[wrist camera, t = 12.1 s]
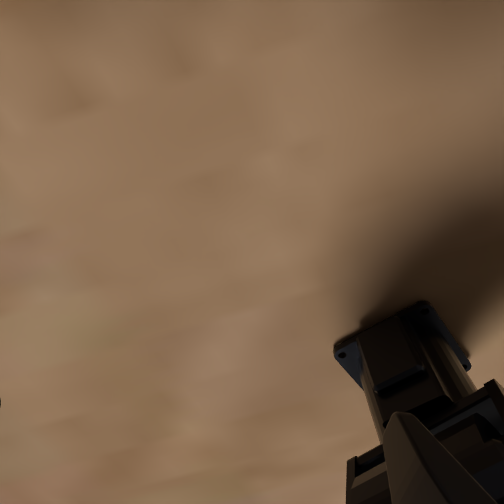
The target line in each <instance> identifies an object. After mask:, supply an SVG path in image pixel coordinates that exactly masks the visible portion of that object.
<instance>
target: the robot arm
mask: <svg viewBox="0 0 504 504" xmlns="http://www.w3.org/2000/svg"><path fill="white" fill-rule="evenodd" d="M424 308H426V309H425V310H423V311H421V310H422V309H424ZM341 352H344V353H342V354H339V353H341ZM333 354H334V357H335V359H336V360H337V361H338V362H339V364H340V365H341V366H342V367H343V368H344V369H345V370H346V371H347V373H348V374H349V375H350V376H351V377H352V378H353V379H354V380H355V382H356V383H357V384H358V385H359V386H360V387H361V388H362V389H363V391H364V393H365V396H366V399H367V402H368V405H369V409H370V412H371V415H372V418H373V421H374V425H375V428H376V431H377V434H378V438H379V441H380V445H378V446H377V447H375V448H373V449H371V450H369V451H368V452H366V453H364V454H362V455H360V456H359V457H357V456H355V457H353V458H351V459H349V460H348V461H347V479H346V504H504V388H503V387H502V386H501V385H500V384H499V383H498V382H497V381H496V380H495V379H492V380H490V381H489V382H487V383H485V384H484V387H482V388H480V389H479V390H477V389H476V387H475V385H474V384H473V382H472V380H471V379H470V377H469V376H468V374H467V371H469V370H470V369H471V363H470V362H469V360H468V359H467V357H466V356H465V354H464V353H463V351H462V350H461V348H460V347H459V345H458V344H457V342H456V341H455V339H454V338H453V336H452V335H451V333H450V332H449V330H448V329H447V327H446V326H445V325H444V323H443V322H442V320H441V319H440V317H439V316H438V314H437V313H436V311H435V310H434V308H433V307H432V305H431V304H430V303H429V302H428V301H420V302H417V303H416V304H414V305H412V306H410V307H408V308H406V309H404V310H403V311H401V312H399V313H397V314H395V315H393V316H391V317H390V318H388V319H386V320H384V321H382V322H380V323H378V324H377V325H375V326H373V327H371V328H369V329H367V330H365V331H364V332H362V333H360V334H358V335H356V336H354V337H352V338H351V339H349V340H347V341H345V342H343V343H341V344H339V345H338V346H336V347H335V348H334V350H333ZM0 406H1V399H0Z"/></svg>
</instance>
